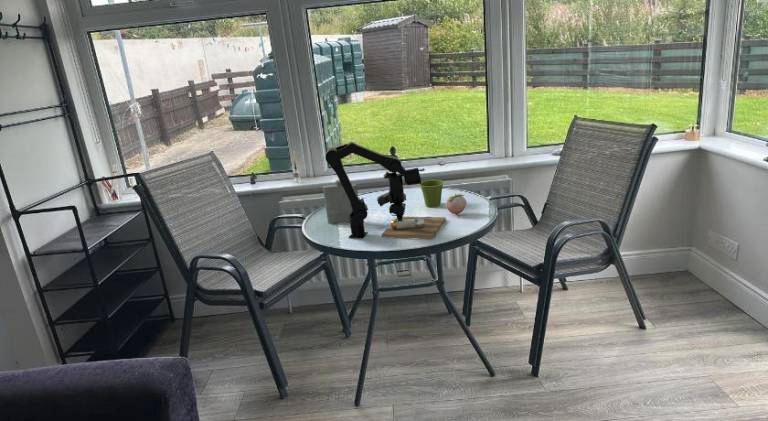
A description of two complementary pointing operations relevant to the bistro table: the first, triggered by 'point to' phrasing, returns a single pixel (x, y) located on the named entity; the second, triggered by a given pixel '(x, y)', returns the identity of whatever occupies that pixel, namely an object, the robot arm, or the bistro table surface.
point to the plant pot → (432, 192)
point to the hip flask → (337, 203)
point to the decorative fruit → (456, 204)
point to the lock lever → (407, 223)
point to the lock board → (417, 229)
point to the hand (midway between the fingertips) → (399, 221)
